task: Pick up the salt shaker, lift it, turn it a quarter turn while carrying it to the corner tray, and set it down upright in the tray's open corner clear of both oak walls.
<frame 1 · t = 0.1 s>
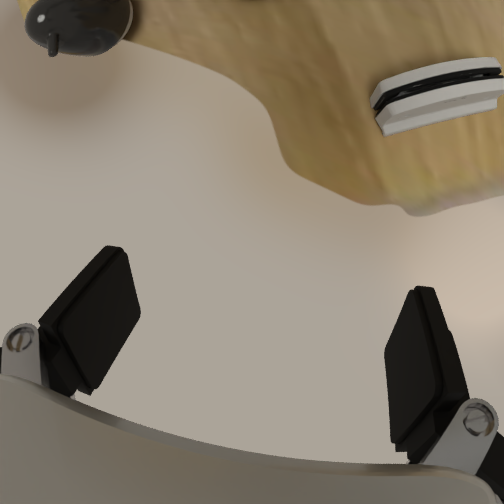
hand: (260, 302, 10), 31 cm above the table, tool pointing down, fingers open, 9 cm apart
hinge: (432, 91, 30), on the table
pump dispenser: (113, 21, 32), on the table
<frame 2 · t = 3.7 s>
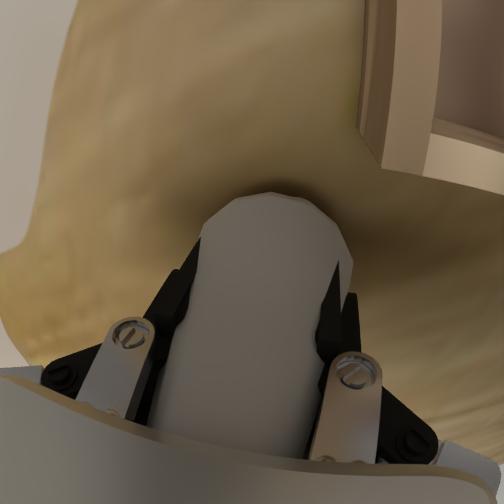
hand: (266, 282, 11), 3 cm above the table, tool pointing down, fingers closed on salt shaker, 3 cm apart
salt shaker: (279, 235, 14), on the table, touching gripper
corner tray: (500, 26, 7), on the table
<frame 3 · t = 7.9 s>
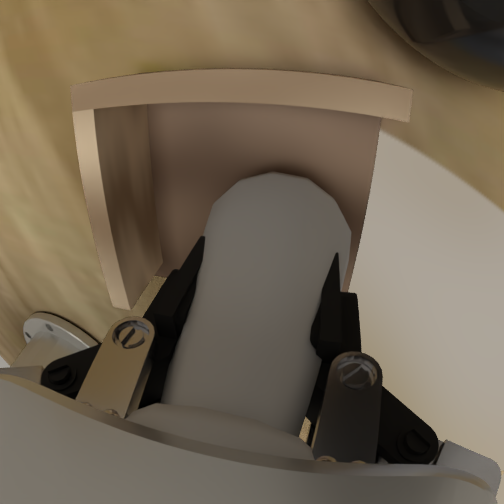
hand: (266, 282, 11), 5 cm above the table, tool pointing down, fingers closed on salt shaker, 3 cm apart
salt shaker: (283, 216, 15), point 1 cm above the table, touching corner tray, gripper
corner tray: (248, 184, 15), on the table
when the fingers open (5 cm above the table, at t = 8.1 s): salt shaker stays where it is, resting on corner tray.
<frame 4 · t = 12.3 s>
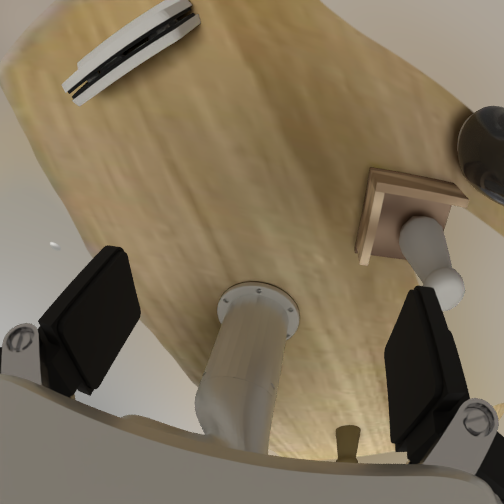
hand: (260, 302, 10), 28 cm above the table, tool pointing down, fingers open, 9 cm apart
brown pawn: (348, 430, 66), on the table
salt shaker: (416, 229, 36), point 1 cm above the table, touching corner tray
hinge: (140, 48, 31), on the table
corner tray: (404, 216, 37), on the table
pump dispenser: (481, 141, 29), on the table
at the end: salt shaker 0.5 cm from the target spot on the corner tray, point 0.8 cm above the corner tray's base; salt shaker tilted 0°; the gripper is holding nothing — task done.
